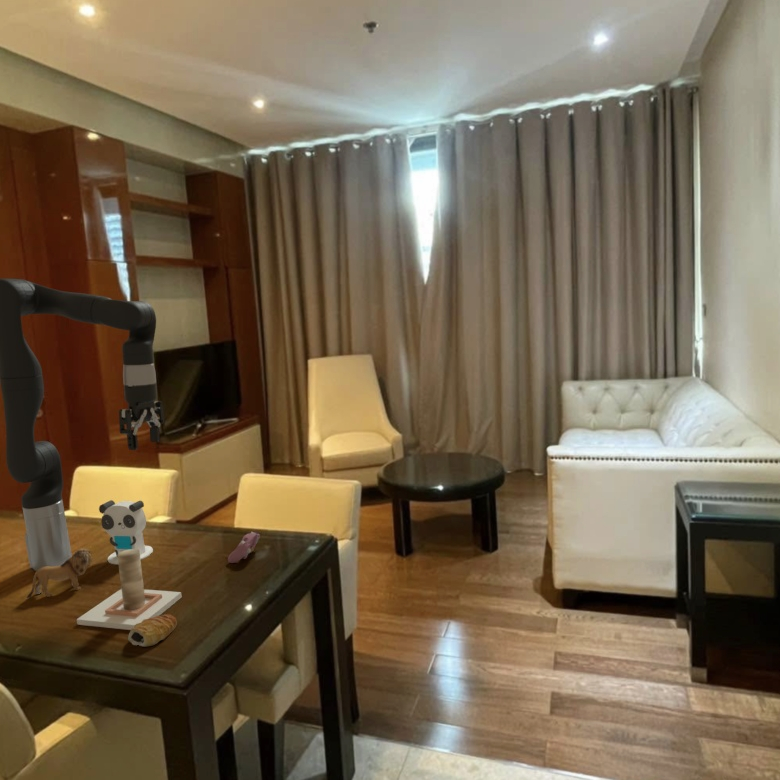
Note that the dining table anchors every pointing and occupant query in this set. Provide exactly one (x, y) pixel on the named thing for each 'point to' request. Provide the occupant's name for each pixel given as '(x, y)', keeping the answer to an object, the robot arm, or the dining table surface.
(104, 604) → the board
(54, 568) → the lion figurine
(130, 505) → the panda figurine
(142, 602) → the maple pin
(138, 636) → the pastry
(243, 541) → the video game controller
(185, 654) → the dining table surface
